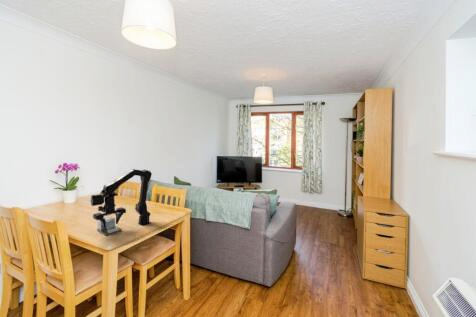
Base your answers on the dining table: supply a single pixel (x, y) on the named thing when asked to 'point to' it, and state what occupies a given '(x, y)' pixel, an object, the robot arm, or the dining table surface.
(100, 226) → the motor mount
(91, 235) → the dining table surface
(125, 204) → the dining table surface
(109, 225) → the grey round-ended capsule
